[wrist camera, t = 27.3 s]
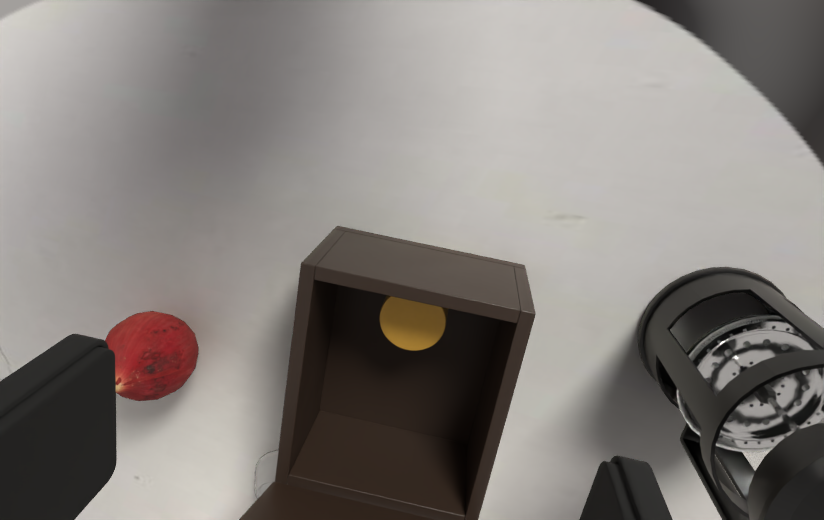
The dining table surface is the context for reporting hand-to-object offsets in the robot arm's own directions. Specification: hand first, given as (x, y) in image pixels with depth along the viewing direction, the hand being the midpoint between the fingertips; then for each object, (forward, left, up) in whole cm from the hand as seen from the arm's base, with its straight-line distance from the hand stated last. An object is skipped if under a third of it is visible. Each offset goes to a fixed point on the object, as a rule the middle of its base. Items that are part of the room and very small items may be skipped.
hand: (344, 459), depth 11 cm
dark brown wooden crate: (+11, +2, -27) cm, 29 cm away
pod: (+7, +1, -26) cm, 27 cm away
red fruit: (+17, -14, -27) cm, 35 cm away
